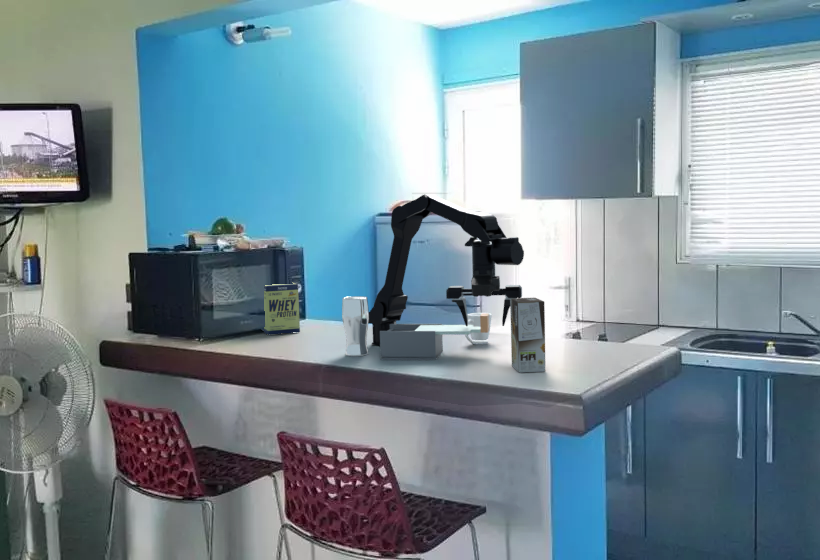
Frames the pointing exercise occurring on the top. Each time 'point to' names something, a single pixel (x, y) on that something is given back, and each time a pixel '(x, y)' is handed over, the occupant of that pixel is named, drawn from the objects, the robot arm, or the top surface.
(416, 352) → the tub
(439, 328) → the lid
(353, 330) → the beer glass
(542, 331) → the coffee box
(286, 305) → the protein box
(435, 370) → the top surface
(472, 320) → the cup
